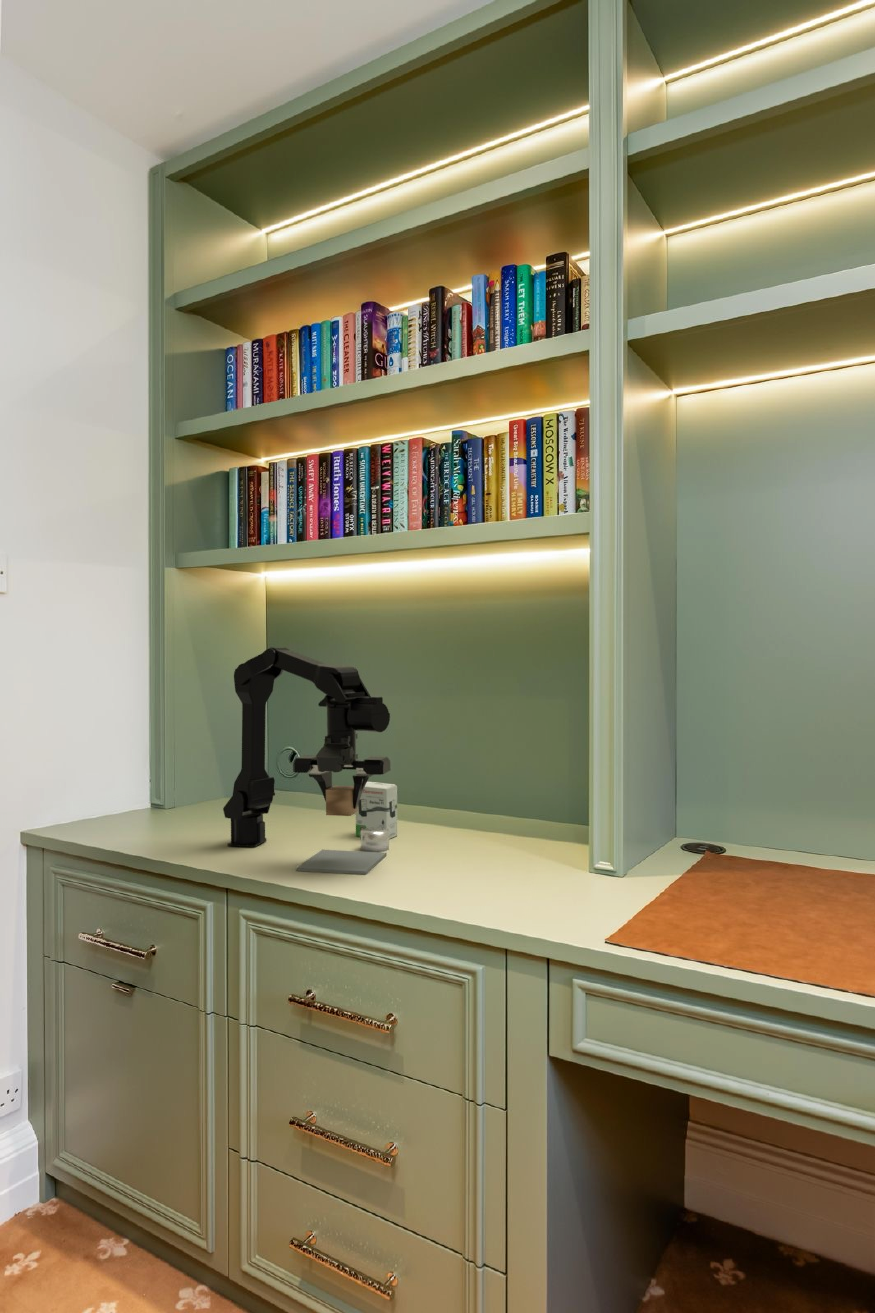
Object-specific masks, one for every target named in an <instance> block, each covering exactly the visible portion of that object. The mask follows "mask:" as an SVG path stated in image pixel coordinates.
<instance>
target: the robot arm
mask: <svg viewBox="0 0 875 1313" xmlns="http://www.w3.org/2000/svg"><path fill="white" fill-rule="evenodd" d="M284 671H285V672H287V673H290V674H292V675H294V676H297V677H300V678H301V679H302V678H303V679H305V680H307V681H310V683H313V684H314V686H315V688H316V689H317V690H319V692H322V693H323V694H325V696H324V698H323V699H321V700H320V701H319V702H318V707H324V708H325V707H326V735H325V736H324V744H323V747H321V748H320V750H319V751H318V752H317V753H316V755H312V754H310V755H309V754H307V755H306V754H304V755H301V756H298V757H296V758H295V759H294V760H293V762H292V772H293V773H294V774H295V773H296V774H297V773H304V774H306V773H307V774H308V777H309V778H313V779H314V780H315V781H316V782H317V784H318V785H319V788H320V791H321V793H322V796H323V798H324V801H325V802H326V789H328V788H330V787H333V775H332V774H333V773H339V772H342V771H343V770H354V771H355V770H356V773H355V774H354V775H352V781H353V786H354V791H353V808H354V809H356V808H357V806H358V803H359V800H360V798H361V795H362V792H363V789H364V787H365V785H366V783H367V782H369V779H370V778H371V777H372V776H378V775H379V776H380V775H385V774H387V773H388V772H390V771H391V761H390V758H389V757H388V756H369V757H367V758H365V759H363V760H362V759H359V760H358V758H359V757H358V755H359V754H358V753H357V739H358V733H356V732H357V731H358V732H368V733H369V732H370V733H371V732H372V733H383V732H385V731H386V730H387V728H388V726H389V725H390V720H391V714H390V712H389V709H388V706H387V705H386V704H385V703H384V701H383V700H384V699H383V696H371V695H370V693H369V691H368V689H367V687H366V685H365V684H364V683H363V680H362V678H361V677H360V674H359V670H358V669H357V668H356V667H353V666H349V665H342V664H340V665H339V664H331V663H330V664H329V663H324V662H322V661H319V660H316V659H313V658H311V657H309V656H306V655H303V654H301V653H297V652H295V651H293V650H291V649H289V648H287V647H283V646H282V647H281V646H278V647H275V646H274V647H269V648H266V649H265V650H264V651H263V652H261V653H260V654H257V655H256V656H254V657H252V658H250V659H247V660H246V661H245V662H244V663H241V664H239V665H238V666H237V667H236V668H235V669H234V671H233V682H234V691H235V694H236V695H237V697H238V698H239V700H240V702H241V707H242V708H241V710H242V711H241V768H240V771H239V773H238V775H237V777H236V778H235V781H234V783H233V787H232V788H233V789H232V795H231V797H230V798H229V800H228V801H227V802H226V804H225V805H224V806H223V808H222V810H223V814H224V818H225V819H230V841H229V842H228V843H227V847H244V848H246V847H247V848H256V847H257V846H259V845H261V844H263V843H264V842H266V841H267V837H266V822H265V821H264V815H266V814H269V811H270V808H271V805H272V803H273V800H274V797H275V796H276V793H275V781H276V780H275V778H274V777H273V776H271V777H270V776H269V775H270V774H268V772H267V771H266V763H265V762H266V713H267V712H266V710H267V709H266V708H267V703H268V701H269V699H270V697H271V695H272V693H273V691H274V685H275V684H274V683H275V680H276V679H278V678H279V677H280V676H281V675H282V674H283V672H284Z"/></svg>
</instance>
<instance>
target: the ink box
mask: <svg viewBox="0 0 875 1313" xmlns="http://www.w3.org/2000/svg"><path fill="white" fill-rule="evenodd" d="M375 827H378V828H386V829H388V830H389V840H390V839H392V838H395V837H397V836H398V785H396V784H394V783H386V782H375V781H367V783H366V785H365V787H364V789H363V792H362V795H361V798H360V800H359V803H358V811H357V812H356V813H355V837H359V838H361V830H362V829H366V828H375Z"/></svg>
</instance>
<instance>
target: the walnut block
mask: <svg viewBox="0 0 875 1313" xmlns="http://www.w3.org/2000/svg"><path fill="white" fill-rule="evenodd" d="M353 791H354V785H332V787H330V788H328V789H326V801H325V815H326V816H338V817H351V816H353V815H354V814H356V812H357V811H358V806H357V808H356V809H354V808H353Z"/></svg>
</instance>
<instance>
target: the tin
mask: <svg viewBox="0 0 875 1313" xmlns="http://www.w3.org/2000/svg"><path fill="white" fill-rule="evenodd" d="M388 850H390V839H389V830H388V829H386V828H378V827H375V828H366V829H362V830H361V837H360V851H361V852H381V853H385V852H387V851H388Z"/></svg>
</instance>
